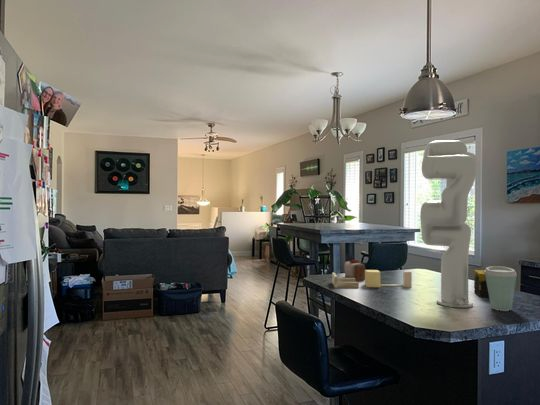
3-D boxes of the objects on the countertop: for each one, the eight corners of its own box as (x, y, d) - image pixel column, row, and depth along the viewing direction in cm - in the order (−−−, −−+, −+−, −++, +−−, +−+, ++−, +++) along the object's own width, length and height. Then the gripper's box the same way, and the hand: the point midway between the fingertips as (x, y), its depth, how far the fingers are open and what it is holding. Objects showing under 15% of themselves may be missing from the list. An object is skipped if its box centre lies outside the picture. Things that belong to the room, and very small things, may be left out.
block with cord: (412, 287, 184) (412, 272, 184) (367, 287, 186) (367, 271, 186) (408, 285, 190) (408, 270, 190) (364, 284, 192) (365, 269, 192)
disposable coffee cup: (522, 313, 141) (522, 270, 141) (488, 311, 143) (488, 269, 143) (511, 306, 151) (511, 266, 151) (480, 304, 153) (480, 265, 154)
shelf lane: (358, 288, 183) (358, 277, 183) (334, 287, 184) (334, 276, 184) (355, 283, 194) (355, 272, 194) (332, 282, 195) (332, 272, 195)
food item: (342, 276, 213) (342, 258, 213) (356, 276, 215) (356, 257, 215) (353, 281, 200) (353, 261, 200) (367, 280, 201) (368, 261, 202)
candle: (499, 293, 173) (499, 270, 173) (506, 299, 163) (506, 274, 163) (473, 292, 176) (473, 269, 176) (479, 297, 166) (479, 273, 166)
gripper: (472, 187, 170) (472, 228, 170) (456, 189, 187) (456, 226, 187) (454, 187, 170) (454, 228, 170) (439, 189, 187) (439, 226, 187)
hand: (455, 227), depth 178 cm, fingers open, 9 cm apart
